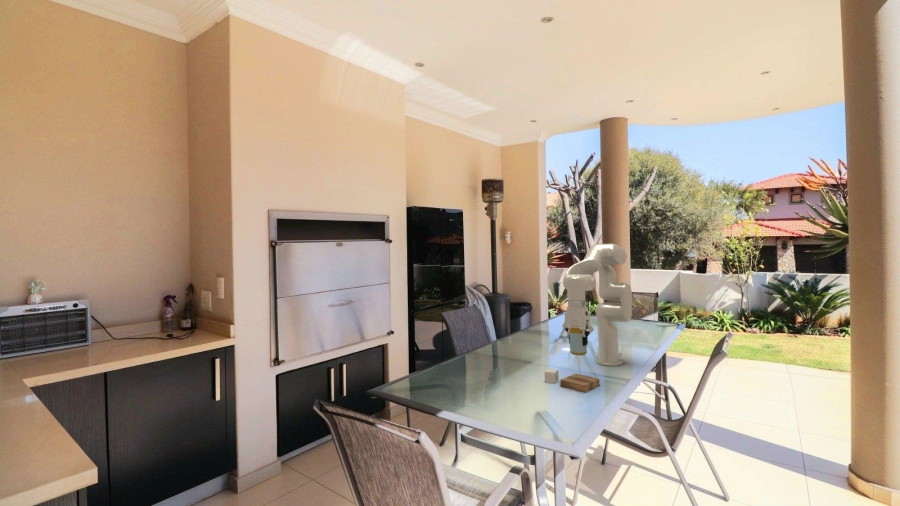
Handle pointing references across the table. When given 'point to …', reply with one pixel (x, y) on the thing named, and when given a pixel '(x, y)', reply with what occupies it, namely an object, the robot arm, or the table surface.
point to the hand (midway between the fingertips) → (578, 343)
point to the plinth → (579, 383)
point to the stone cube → (551, 376)
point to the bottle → (576, 339)
